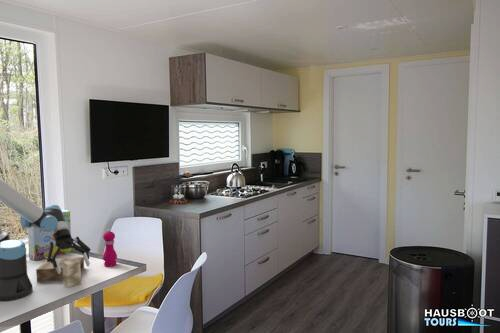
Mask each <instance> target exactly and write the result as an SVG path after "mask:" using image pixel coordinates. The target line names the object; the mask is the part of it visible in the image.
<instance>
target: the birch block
mask: <svg viewBox="0 0 500 333" xmlns="http://www.w3.org/2000/svg"><path fill="white" fill-rule="evenodd" d="M62 268H63V280H62V282H63V284H64V286H65V287H66V286H67V287H66V288H68V289H69V287H70V288H73V287H76V285H77V286H80V285H82V275H81V273H82V272H81V270H82V269H80V261H78V260H76V259H73V260H68V261H64V262H62Z"/></svg>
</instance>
